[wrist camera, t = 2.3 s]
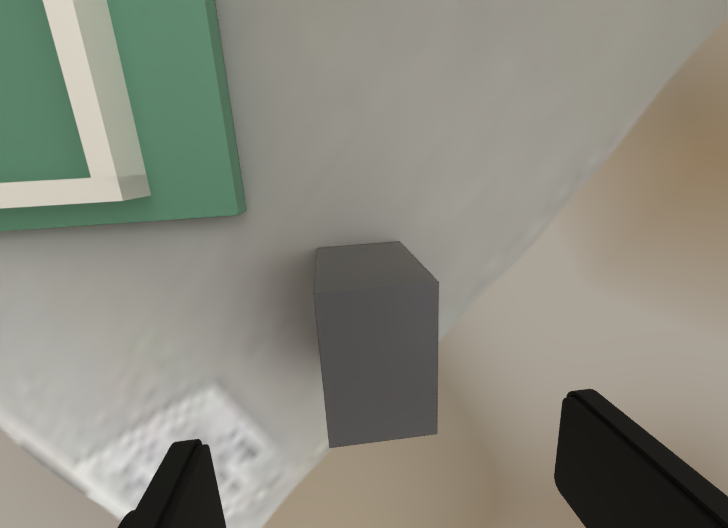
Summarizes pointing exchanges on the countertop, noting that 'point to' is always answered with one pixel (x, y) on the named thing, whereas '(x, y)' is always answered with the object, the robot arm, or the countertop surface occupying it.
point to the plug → (376, 343)
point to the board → (114, 114)
